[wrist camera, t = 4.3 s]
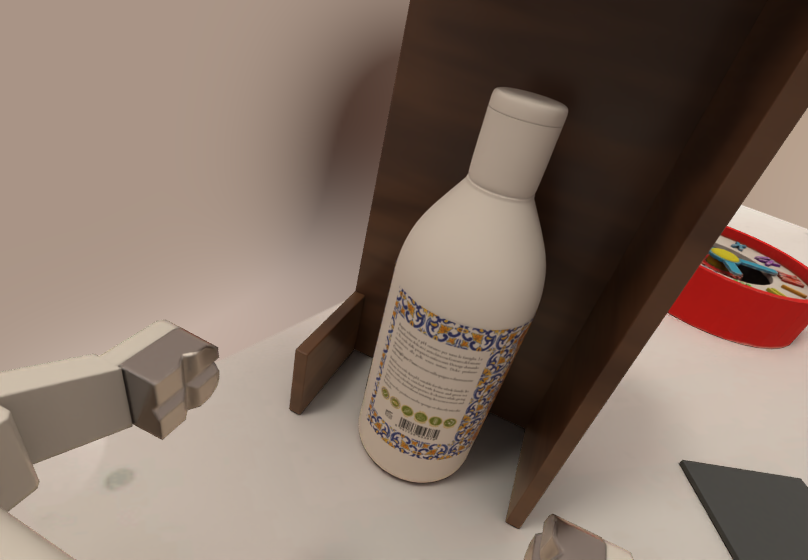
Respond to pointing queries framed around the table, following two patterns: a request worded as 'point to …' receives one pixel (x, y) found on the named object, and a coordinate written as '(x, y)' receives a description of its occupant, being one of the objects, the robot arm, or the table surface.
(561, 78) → the cabinet
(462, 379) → the bath foam
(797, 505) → the pad
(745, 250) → the toy clock
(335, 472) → the table surface
